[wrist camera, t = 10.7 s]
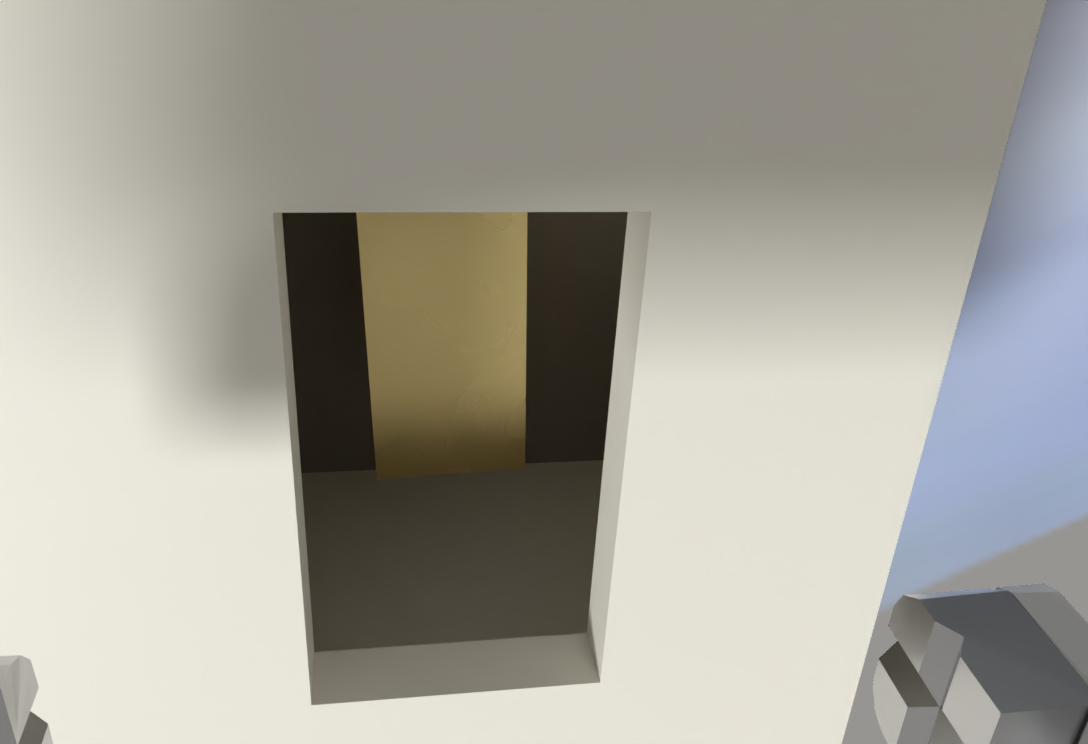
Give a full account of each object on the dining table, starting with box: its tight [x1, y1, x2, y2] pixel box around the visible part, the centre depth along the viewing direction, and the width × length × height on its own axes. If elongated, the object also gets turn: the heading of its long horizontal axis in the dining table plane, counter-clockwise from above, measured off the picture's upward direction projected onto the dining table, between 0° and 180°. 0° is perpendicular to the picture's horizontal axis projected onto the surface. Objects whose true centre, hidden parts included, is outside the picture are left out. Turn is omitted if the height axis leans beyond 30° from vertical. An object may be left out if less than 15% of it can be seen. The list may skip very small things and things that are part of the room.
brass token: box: [356, 212, 527, 479], centre depth 18 cm, size 5×2×5 cm, turn 179°
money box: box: [0, 0, 1047, 744], centre depth 17 cm, size 14×12×10 cm
